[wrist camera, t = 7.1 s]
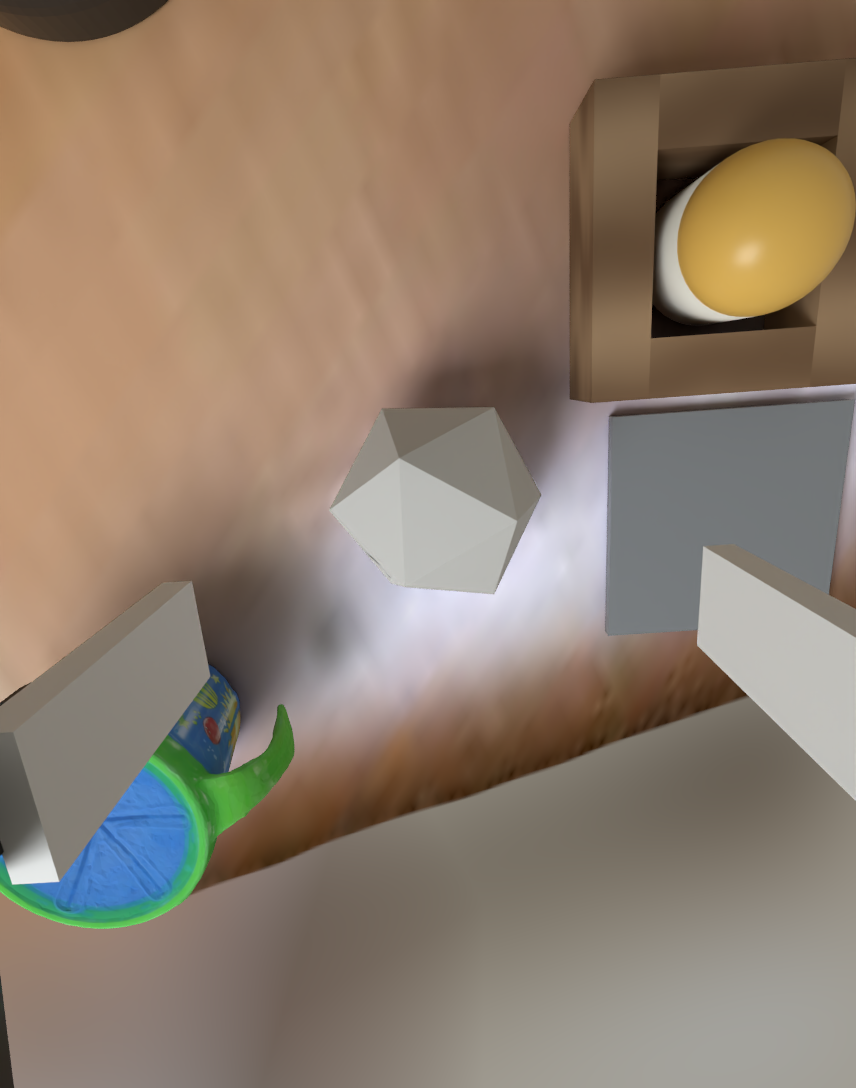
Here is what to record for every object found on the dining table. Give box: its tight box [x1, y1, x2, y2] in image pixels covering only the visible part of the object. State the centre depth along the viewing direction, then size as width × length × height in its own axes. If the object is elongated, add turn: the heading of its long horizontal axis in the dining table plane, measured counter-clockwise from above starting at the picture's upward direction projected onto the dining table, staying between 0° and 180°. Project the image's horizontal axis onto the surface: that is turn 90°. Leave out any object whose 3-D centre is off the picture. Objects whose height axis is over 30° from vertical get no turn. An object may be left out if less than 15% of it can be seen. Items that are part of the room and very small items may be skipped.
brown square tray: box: [570, 58, 856, 403], centre depth 25 cm, size 12×12×4 cm
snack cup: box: [0, 664, 294, 929], centre depth 29 cm, size 16×10×10 cm
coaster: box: [605, 399, 855, 636], centre depth 31 cm, size 12×12×1 cm
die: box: [329, 407, 541, 594], centre depth 27 cm, size 8×9×10 cm
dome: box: [652, 138, 856, 326], centre depth 23 cm, size 6×6×7 cm
